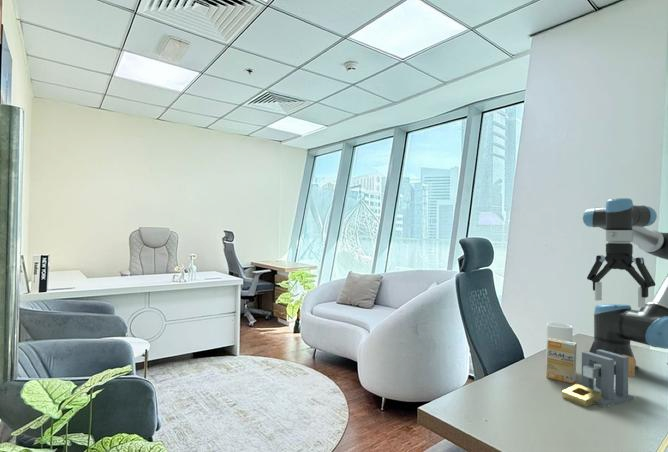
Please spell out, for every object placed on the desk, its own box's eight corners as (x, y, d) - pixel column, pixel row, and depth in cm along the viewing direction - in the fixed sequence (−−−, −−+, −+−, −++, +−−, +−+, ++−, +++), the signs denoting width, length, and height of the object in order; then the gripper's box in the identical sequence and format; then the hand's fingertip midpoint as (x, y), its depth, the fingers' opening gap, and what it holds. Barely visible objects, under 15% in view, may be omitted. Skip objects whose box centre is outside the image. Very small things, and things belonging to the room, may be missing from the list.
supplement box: (545, 378, 129) (546, 339, 130) (548, 374, 133) (549, 337, 133) (574, 384, 124) (574, 344, 124) (576, 380, 128) (576, 342, 128)
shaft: (623, 373, 122) (623, 354, 122) (634, 376, 119) (634, 357, 119) (582, 380, 114) (582, 360, 114) (593, 384, 111) (593, 364, 111)
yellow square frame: (576, 383, 116) (561, 391, 113) (600, 392, 109) (585, 400, 107) (577, 389, 116) (562, 397, 113) (601, 399, 110) (586, 407, 107)
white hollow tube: (575, 373, 135) (576, 328, 135) (550, 371, 136) (551, 326, 137) (566, 365, 143) (567, 323, 143) (542, 363, 144) (543, 321, 145)
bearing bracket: (599, 387, 122) (600, 348, 123) (634, 399, 113) (634, 357, 114) (568, 393, 117) (569, 352, 117) (602, 407, 107) (603, 362, 108)
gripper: (576, 241, 141) (576, 298, 141) (655, 243, 119) (656, 311, 118) (588, 241, 144) (588, 297, 144) (668, 243, 122) (668, 309, 121)
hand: (619, 303), depth 131 cm, fingers open, 13 cm apart
